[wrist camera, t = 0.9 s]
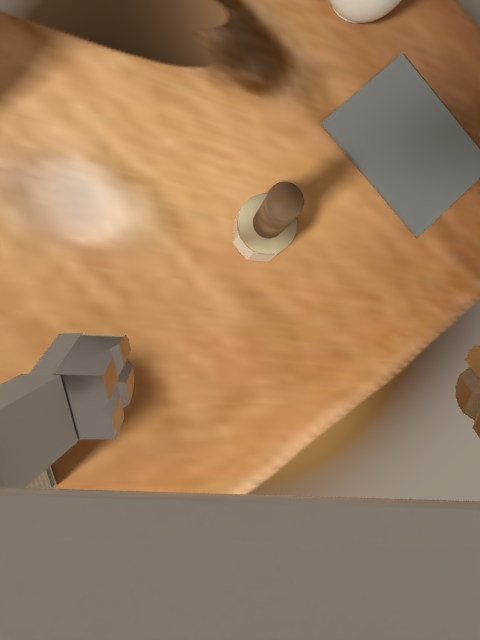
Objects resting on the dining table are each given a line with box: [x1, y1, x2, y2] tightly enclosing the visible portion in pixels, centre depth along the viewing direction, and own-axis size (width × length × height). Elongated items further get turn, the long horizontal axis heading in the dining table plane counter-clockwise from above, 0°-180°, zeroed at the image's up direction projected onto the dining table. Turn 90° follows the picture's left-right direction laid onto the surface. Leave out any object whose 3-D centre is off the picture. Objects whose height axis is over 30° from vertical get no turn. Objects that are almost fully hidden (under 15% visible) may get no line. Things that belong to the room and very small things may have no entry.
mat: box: [321, 54, 480, 237], centre depth 49 cm, size 18×14×1 cm
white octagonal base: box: [233, 210, 294, 262], centre depth 44 cm, size 6×6×4 cm
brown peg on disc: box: [237, 182, 304, 255], centre depth 38 cm, size 6×6×8 cm
